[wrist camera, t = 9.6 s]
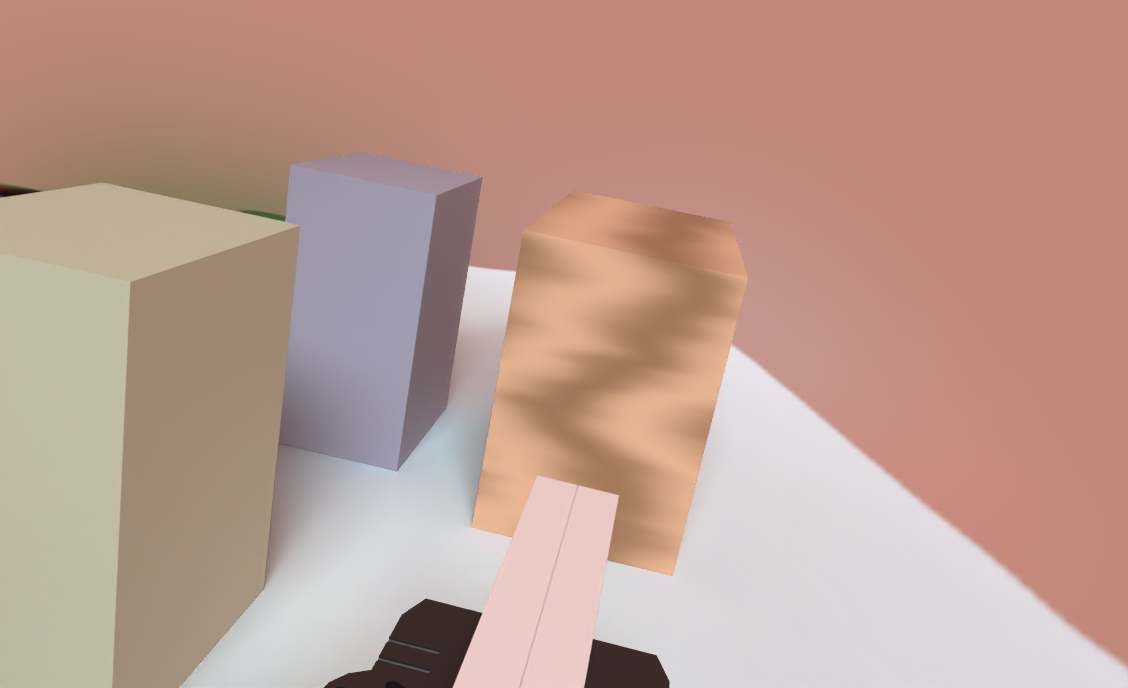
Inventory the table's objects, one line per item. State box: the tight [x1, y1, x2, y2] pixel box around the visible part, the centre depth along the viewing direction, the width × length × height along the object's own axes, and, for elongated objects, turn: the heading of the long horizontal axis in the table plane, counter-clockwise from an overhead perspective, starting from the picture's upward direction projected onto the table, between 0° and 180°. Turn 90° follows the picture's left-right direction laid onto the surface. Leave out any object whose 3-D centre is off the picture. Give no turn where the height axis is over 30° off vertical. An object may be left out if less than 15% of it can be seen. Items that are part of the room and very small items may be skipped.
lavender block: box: [279, 152, 482, 471], centre depth 40 cm, size 6×8×12 cm
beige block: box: [0, 183, 300, 688], centre depth 23 cm, size 6×8×12 cm
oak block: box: [472, 190, 748, 576], centre depth 39 cm, size 8×14×12 cm, turn 171°
